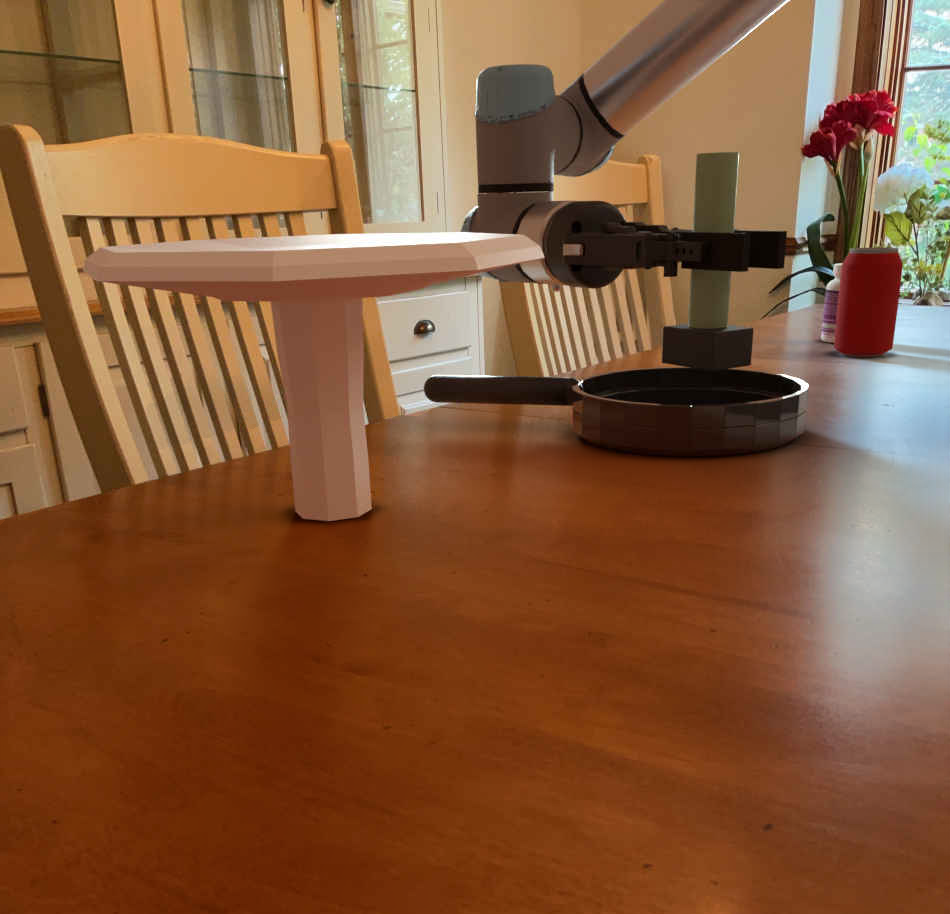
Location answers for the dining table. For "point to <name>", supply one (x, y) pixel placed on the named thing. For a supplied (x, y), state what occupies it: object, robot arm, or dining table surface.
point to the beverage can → (868, 302)
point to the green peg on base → (710, 279)
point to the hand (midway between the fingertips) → (763, 251)
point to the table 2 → (315, 324)
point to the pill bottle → (831, 306)
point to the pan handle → (500, 389)
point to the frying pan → (689, 410)
